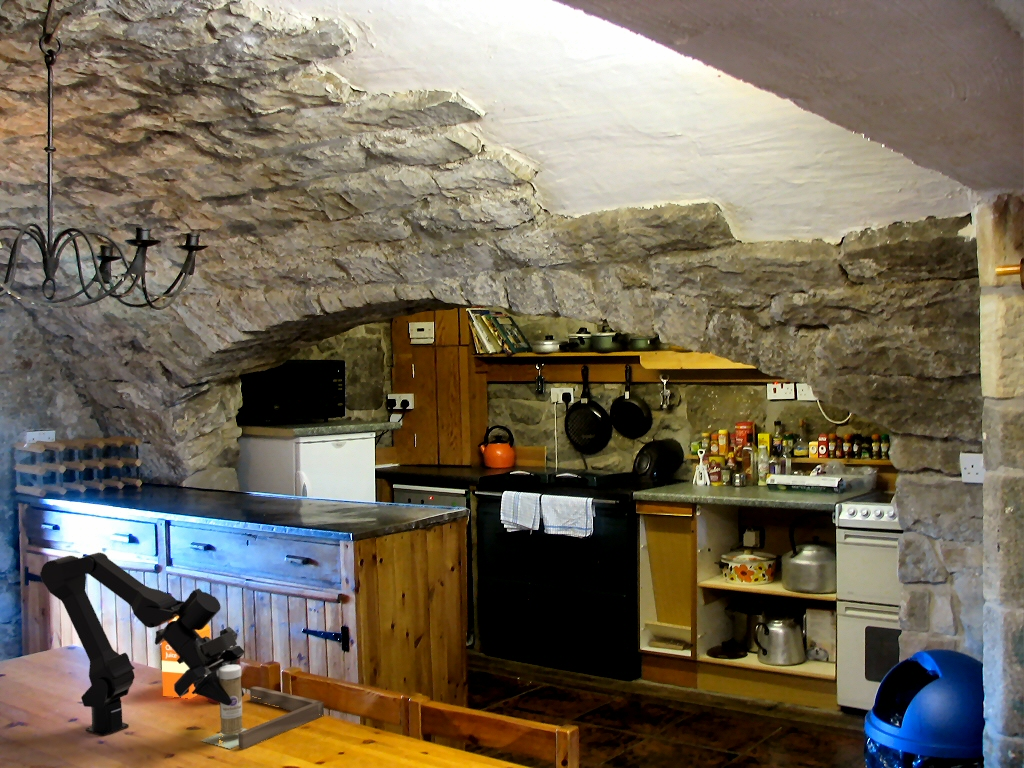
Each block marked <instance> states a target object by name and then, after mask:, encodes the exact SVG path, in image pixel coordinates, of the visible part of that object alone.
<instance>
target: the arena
mask: <svg viewBox="0 0 1024 768" xmlns="http://www.w3.org/2000/svg"><path fill="white" fill-rule="evenodd" d="M249 694H250V698H249V699H250V702H253V701H254V702H253V703H257V702H261V703H267V704H270V705H275V706H279V707H281V708H283V709H282V710H285V709H286V711H289V710H290V712H288V713H285V714H283V715H280V716H278V717H275V718H273V719H270V720H269V721H268V720H267V721H265V722H263V723H260V724H257V725H255V726H253V727H251V728H245V727H243V730H242V731H241V732H239V733H237V734H232V735H224V734H222V733H221V732H218V733H216V734H213V735H211V736H209V737H206V738H203V739H201V740H200V741H201V742H202V741H203V742H204V743H206V742H207V744H209V743H210V745H212V744H215V745H214V746H216V745H218V746H217V747H219V746H220V744H221V743H220V744H219V740H221V741H223V742H222V744H221V746H223V747H225V748H224V749H226V748H228V749H227V750H229V749H230V750H232V749H234V747H235V748H237V747H238V749H240V748H241V749H240V750H246V749H248V748H251V747H253V746H255V744H256V745H257V743H258V744H260V743H262V742H261V741H263V742H265V741H267V740H269V739H268V738H270V739H272V738H274V736H275V737H277V736H279V735H281V734H280V733H282V732H284V731H286V732H288V731H287V730H289V731H291V730H293V728H294V729H296V728H298V727H300V725H301V726H303V725H306V724H307V723H310V722H312V721H315V720H317V719H319V718H322V717H324V716H325V713H324V711H325V710H324V701H321V700H316V699H312V698H307V697H305V696H304V697H303V696H300V695H299V696H298V695H295V694H291V693H286V692H281V691H278V690H273V689H269V688H264V687H260V686H251V687H250V688H249ZM252 696H254V697H257V698H254V697H252ZM258 698H261V699H258ZM261 703H260V704H261ZM281 708H280V709H281ZM319 714H320V715H319ZM322 715H323V716H322ZM295 727H296V728H295ZM290 729H291V730H290ZM284 733H285V732H284ZM220 734H222V735H221V736H219V735H220ZM278 734H279V735H278ZM282 734H283V733H282ZM276 735H277V736H276ZM222 736H223V737H222ZM271 737H272V738H271ZM219 738H220V739H219ZM266 739H267V740H266ZM264 740H265V741H264ZM224 742H225V743H224ZM223 744H224V745H223ZM236 746H237V747H236ZM231 748H232V749H231Z"/></svg>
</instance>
